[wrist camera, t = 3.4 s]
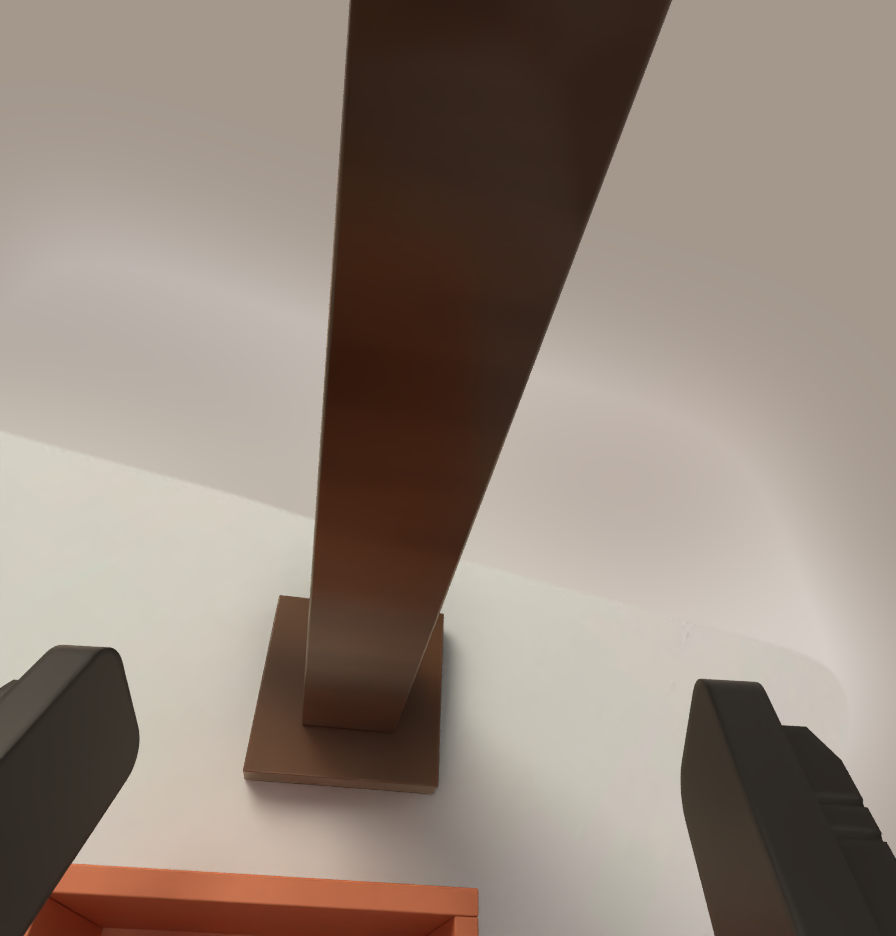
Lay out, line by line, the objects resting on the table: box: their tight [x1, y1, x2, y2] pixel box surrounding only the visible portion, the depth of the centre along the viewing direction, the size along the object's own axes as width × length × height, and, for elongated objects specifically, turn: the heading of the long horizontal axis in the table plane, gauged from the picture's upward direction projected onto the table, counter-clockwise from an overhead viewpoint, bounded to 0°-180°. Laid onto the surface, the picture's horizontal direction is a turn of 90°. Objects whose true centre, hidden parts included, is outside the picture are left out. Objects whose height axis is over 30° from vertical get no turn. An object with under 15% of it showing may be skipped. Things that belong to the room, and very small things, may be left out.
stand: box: [243, 0, 672, 794], centre depth 19 cm, size 8×8×32 cm
